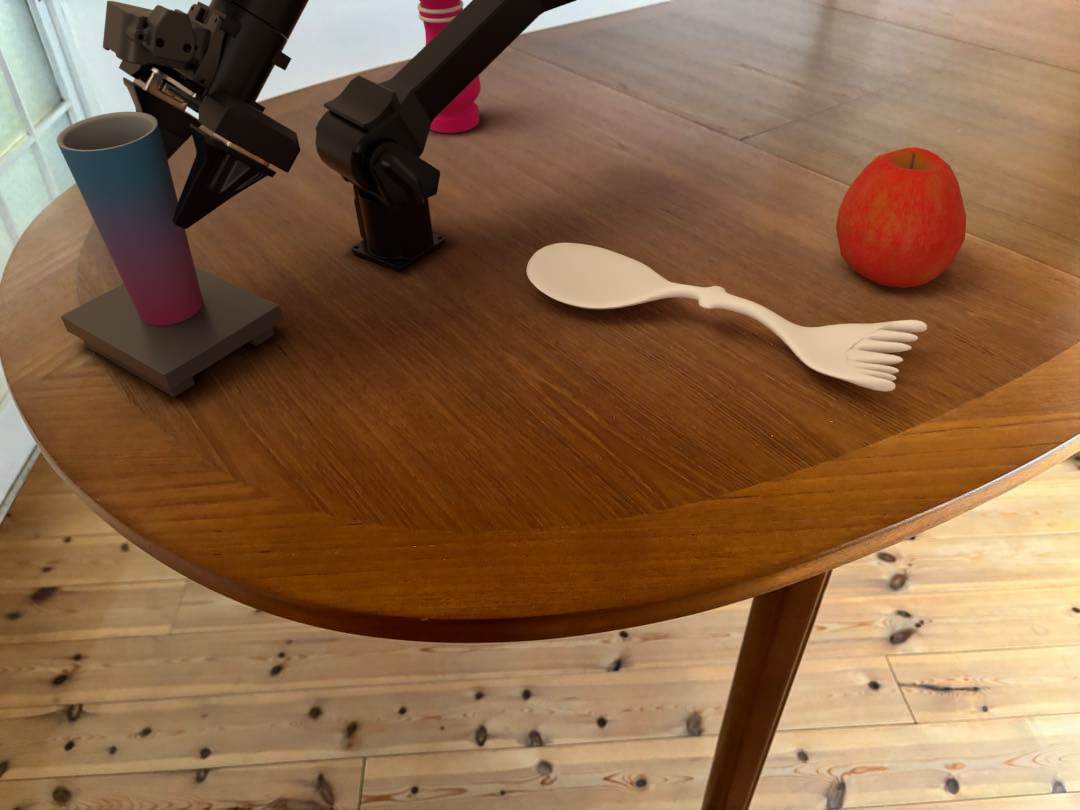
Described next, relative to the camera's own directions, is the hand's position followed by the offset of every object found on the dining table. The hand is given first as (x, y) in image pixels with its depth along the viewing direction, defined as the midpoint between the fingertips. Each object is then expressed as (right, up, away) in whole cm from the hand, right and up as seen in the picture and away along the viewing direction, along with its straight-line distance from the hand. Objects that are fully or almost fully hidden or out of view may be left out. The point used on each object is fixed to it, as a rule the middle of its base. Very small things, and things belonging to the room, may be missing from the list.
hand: (154, 204), depth 69 cm
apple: (+60, -3, +11) cm, 61 cm away
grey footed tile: (-1, -10, +7) cm, 12 cm away
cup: (-1, -7, +5) cm, 9 cm away
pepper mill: (+19, +18, +39) cm, 47 cm away
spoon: (+42, -9, +5) cm, 44 cm away
